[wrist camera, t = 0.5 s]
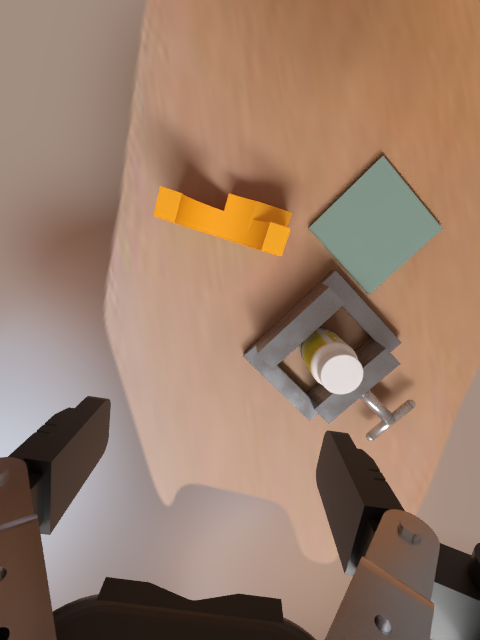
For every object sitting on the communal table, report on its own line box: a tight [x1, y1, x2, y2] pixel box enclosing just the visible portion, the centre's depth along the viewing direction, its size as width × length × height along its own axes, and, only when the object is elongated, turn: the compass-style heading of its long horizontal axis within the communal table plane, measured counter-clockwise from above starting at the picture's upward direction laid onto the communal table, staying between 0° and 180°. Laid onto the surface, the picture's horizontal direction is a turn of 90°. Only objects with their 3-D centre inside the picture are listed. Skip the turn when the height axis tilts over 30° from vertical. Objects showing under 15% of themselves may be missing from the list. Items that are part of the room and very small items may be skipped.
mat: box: [309, 156, 442, 294], centre depth 34 cm, size 10×10×1 cm
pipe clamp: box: [154, 186, 292, 257], centre depth 31 cm, size 12×4×6 cm, turn 73°
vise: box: [243, 270, 416, 441], centre depth 36 cm, size 14×18×4 cm
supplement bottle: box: [300, 328, 363, 394], centre depth 34 cm, size 5×5×8 cm
